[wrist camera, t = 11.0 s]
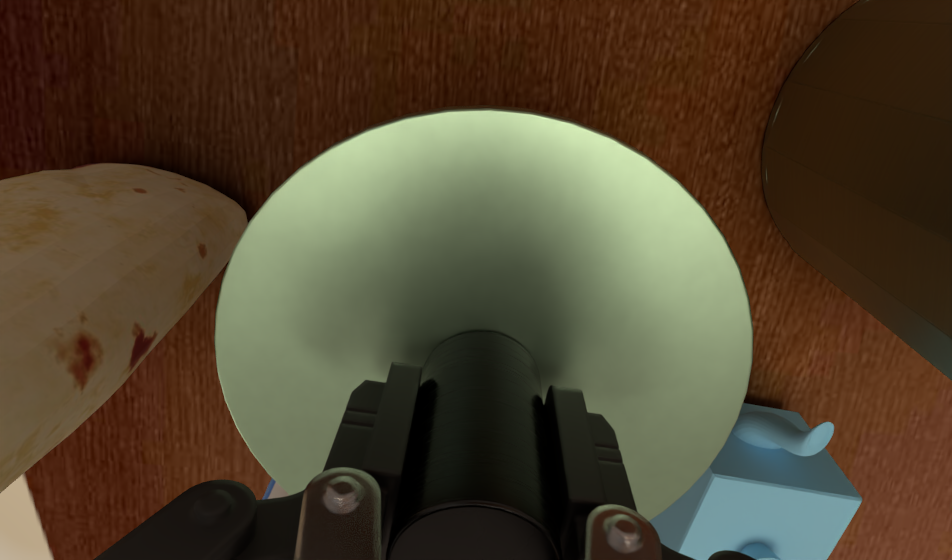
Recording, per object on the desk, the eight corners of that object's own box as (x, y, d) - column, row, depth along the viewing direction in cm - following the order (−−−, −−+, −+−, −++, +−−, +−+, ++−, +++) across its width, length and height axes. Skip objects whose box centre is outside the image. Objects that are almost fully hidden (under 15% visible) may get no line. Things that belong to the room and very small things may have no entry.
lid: (225, 53, 13) (-9, 95, 7) (821, 152, 13) (1085, 271, 7) (235, 507, 18) (110, 747, 12) (654, 564, 19) (728, 821, 13)
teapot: (692, 319, 27) (758, 424, 20) (818, 342, 27) (925, 453, 21) (618, 509, 32) (651, 645, 25) (725, 527, 32) (787, 665, 26)
